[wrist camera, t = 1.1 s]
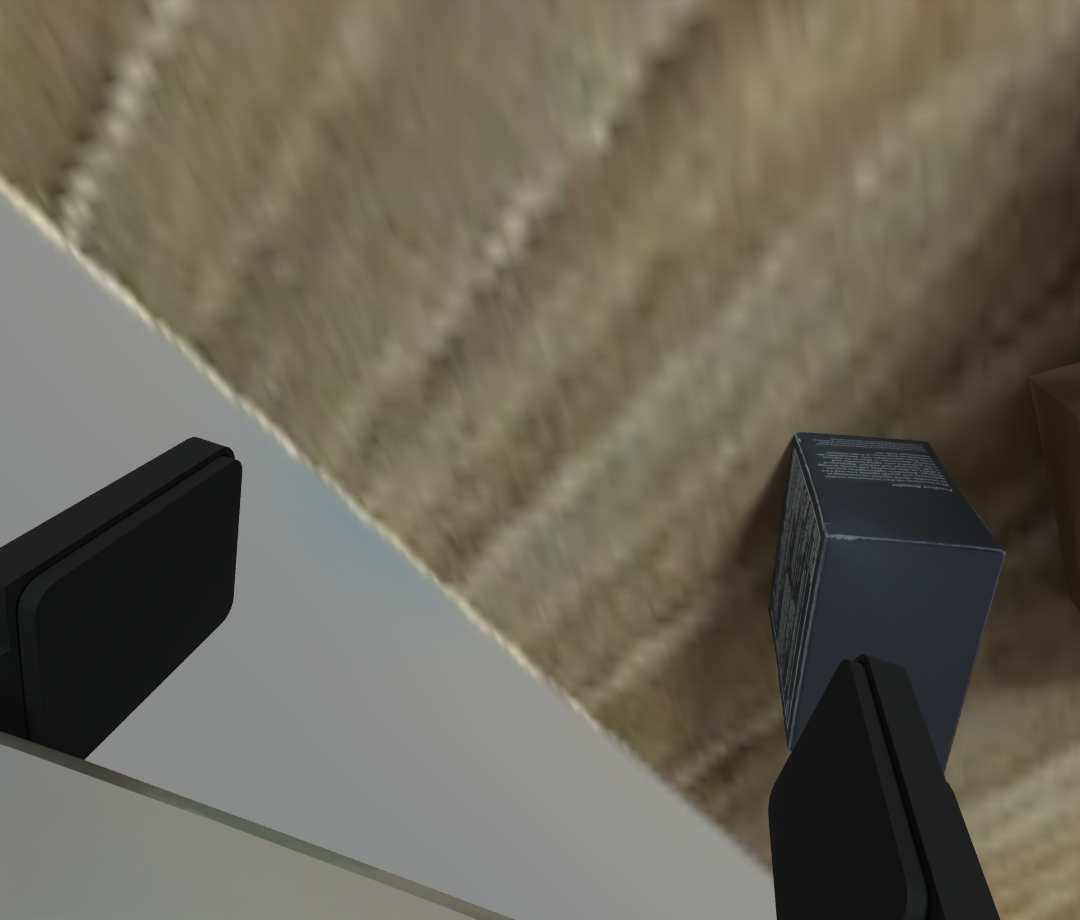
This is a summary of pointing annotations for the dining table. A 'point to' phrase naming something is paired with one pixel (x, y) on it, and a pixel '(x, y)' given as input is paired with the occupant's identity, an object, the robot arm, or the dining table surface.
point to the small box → (879, 575)
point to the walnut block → (1062, 457)
